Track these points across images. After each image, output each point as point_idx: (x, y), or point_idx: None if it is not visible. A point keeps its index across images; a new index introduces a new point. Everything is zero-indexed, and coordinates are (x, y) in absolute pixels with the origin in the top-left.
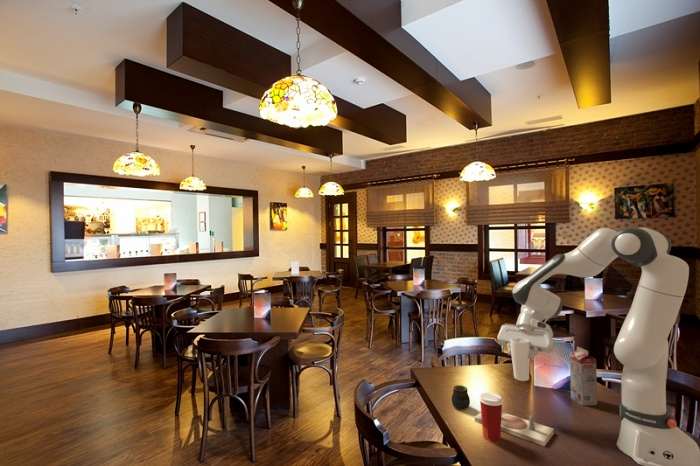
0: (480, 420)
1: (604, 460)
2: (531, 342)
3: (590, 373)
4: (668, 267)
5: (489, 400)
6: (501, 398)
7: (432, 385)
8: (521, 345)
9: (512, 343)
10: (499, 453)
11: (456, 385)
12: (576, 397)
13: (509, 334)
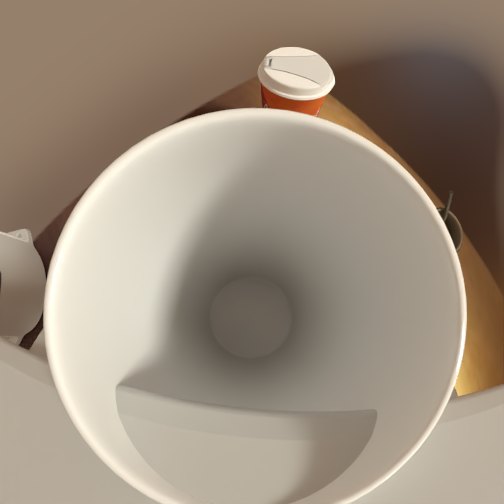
0: None
1: (70, 203)
2: (58, 412)
3: None
4: None
5: (289, 47)
6: (264, 71)
7: (500, 326)
8: (187, 153)
9: (365, 172)
10: (249, 98)
11: (461, 241)
12: None
13: (498, 496)
